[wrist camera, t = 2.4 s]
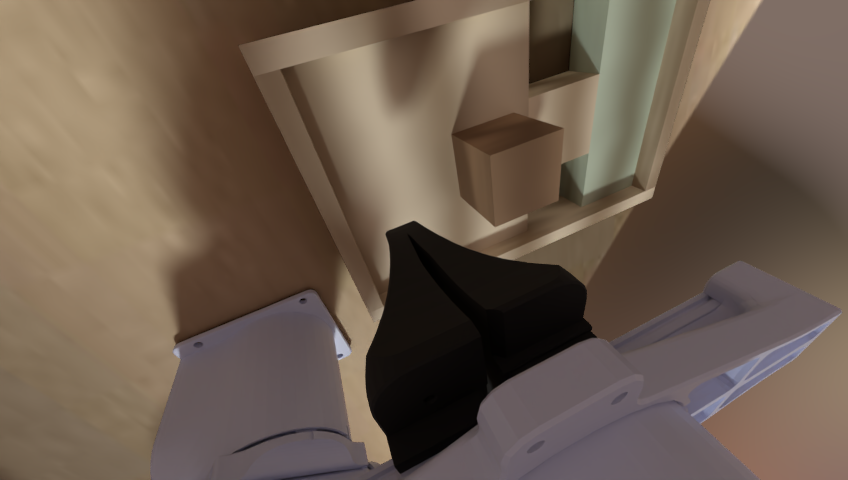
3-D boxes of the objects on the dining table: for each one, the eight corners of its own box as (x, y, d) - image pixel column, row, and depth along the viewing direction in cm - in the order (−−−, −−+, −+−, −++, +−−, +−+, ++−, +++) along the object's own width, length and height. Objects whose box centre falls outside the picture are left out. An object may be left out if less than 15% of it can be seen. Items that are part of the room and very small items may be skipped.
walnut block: (460, 196, 19) (495, 227, 16) (451, 134, 17) (490, 155, 14) (515, 175, 20) (558, 200, 17) (513, 112, 17) (564, 128, 14)
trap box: (362, 287, 23) (373, 322, 20) (247, 44, 14) (238, 45, 11) (613, 181, 27) (652, 197, 25) (661, -61, 18) (734, -81, 15)
